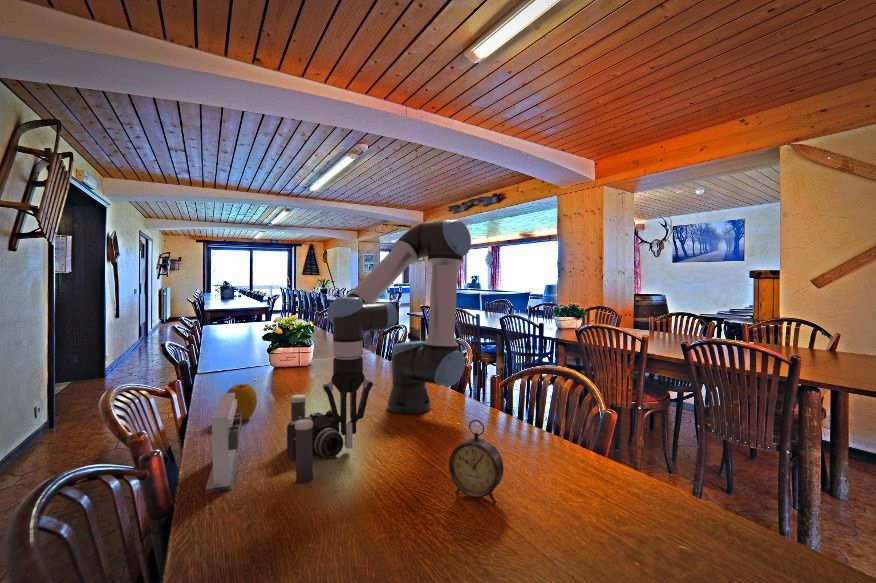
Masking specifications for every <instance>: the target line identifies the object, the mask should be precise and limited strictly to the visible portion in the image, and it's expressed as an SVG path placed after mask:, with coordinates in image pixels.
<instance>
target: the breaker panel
mask: <svg viewBox="0 0 876 583" xmlns="http://www.w3.org/2000/svg"><path fill="white" fill-rule="evenodd" d="M236 408H237V399H235V393H227V392H226V393H221V394H220V398H219V401H218V403H217V404H216V407H215V410H214V412H213V414H212V417H211V436H212V441H211V442H212V444H211V445H212V467H211V470H210V473H209V475H208V479H207V483H206V485H205V490H204V492H205V493H204V494H205V495H208V494H213V493H219V492H225V491H231V490H232V489H233V483H234V478H235V473H236V467H237V461H238V457H239V445H240V443H241V433H242V430H243V429H242V427H243V425H242V422H243V421H242V418H241V413H235V412H236Z"/></svg>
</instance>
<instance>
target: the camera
mask: <svg viewBox="0 0 876 583" xmlns="http://www.w3.org/2000/svg"><path fill="white" fill-rule="evenodd" d="M338 415H339V416H340V413H338ZM298 418H299V420H302V419H301V418H302V417H298ZM304 419H310V420H312V421H313V427H312V448H313V454H316V453H317V455H319V456H322V457H324V458H333V457H336V456H338V455H339V454H340V453H341V452H342V449H343V448H344V438H343V435H342V433H341V432H340V422H335V420H334V418H333V414H332V410H331V408H330V409H328V410H326V412H325V414H323V413H322V412H320V411H317V412H314V413H313V412H311V413H309V416H305V418H304ZM296 421H298V420H296ZM296 421H292V422H291V421H290V422H288V423H287V426H286V451H287V452H286V453H287V459H288V460H289V461H296V429H295V422H296Z"/></svg>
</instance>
